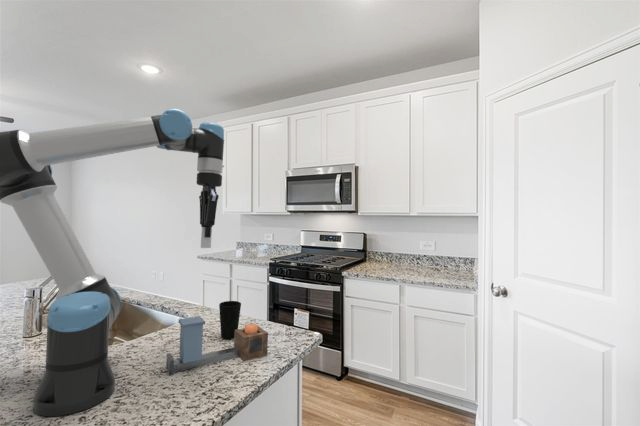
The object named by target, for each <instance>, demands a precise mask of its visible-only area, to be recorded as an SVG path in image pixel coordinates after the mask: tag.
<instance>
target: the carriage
mask: <svg viewBox="0 0 640 426" xmlns="http://www.w3.org/2000/svg"><path fill="white" fill-rule="evenodd" d="M178 323H179V325H180V327H179V328H180V331H179V332H180V333H179V355H178V356H179V359H181V360H182V362H183V363H187V362H191V361H196V360H200V359H202V354H203V334H204V325H205V324H206V320H204V319H203V317H201V316H200V315H198V316H191V317H186V318H180V319H178Z"/></svg>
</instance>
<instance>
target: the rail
mask: <svg viewBox="0 0 640 426" xmlns="http://www.w3.org/2000/svg"><path fill="white" fill-rule="evenodd" d="M236 358H240V357H239V350H238V349H237V348H236V347H234V346H233V347H231V348H225V349H221V350H217V351H212V352H208V353H202V359H200V360H196V361H191V362H187V363H183V362H182V360H181V359H180V358H179V359H174V357H173V355H172V353H171V352H168V353H166V361H165V363H166V368H165V369H166V370H167V373H168V375H169V376H174V373H177V372H181V371H182V372H183V371H186V370H191V369H194V368H197V367H198V368H199V367H202V366H207V365H211V364H214V363H218V362H223V361H228V360H231V359H236Z"/></svg>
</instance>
